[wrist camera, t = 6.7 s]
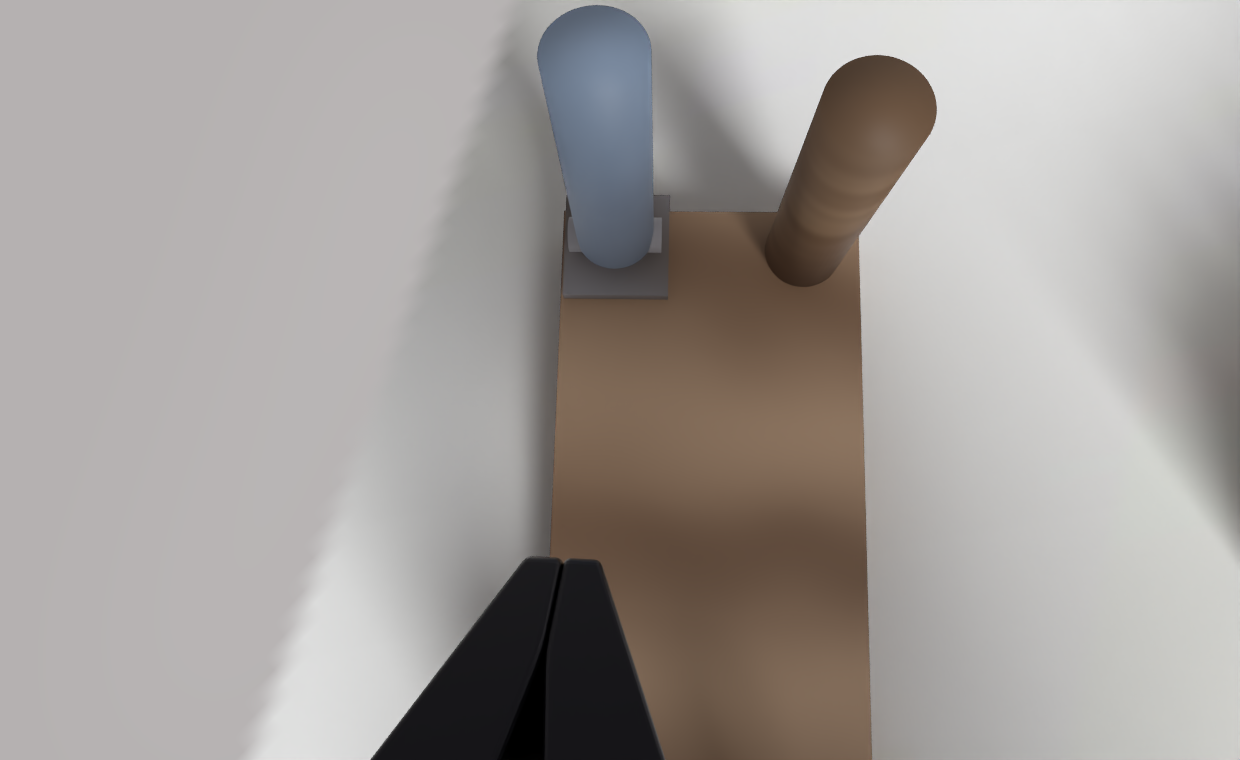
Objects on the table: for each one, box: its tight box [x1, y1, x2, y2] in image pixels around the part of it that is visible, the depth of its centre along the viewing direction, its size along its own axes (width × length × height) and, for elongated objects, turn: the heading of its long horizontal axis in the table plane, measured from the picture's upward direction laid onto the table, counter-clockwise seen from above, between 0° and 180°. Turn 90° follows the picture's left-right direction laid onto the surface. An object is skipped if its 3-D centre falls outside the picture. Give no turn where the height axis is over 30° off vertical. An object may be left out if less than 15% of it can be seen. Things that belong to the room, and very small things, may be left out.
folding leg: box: [537, 5, 662, 269], centre depth 18 cm, size 2×2×8 cm
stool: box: [550, 55, 937, 760], centre depth 17 cm, size 20×8×10 cm, turn 178°
